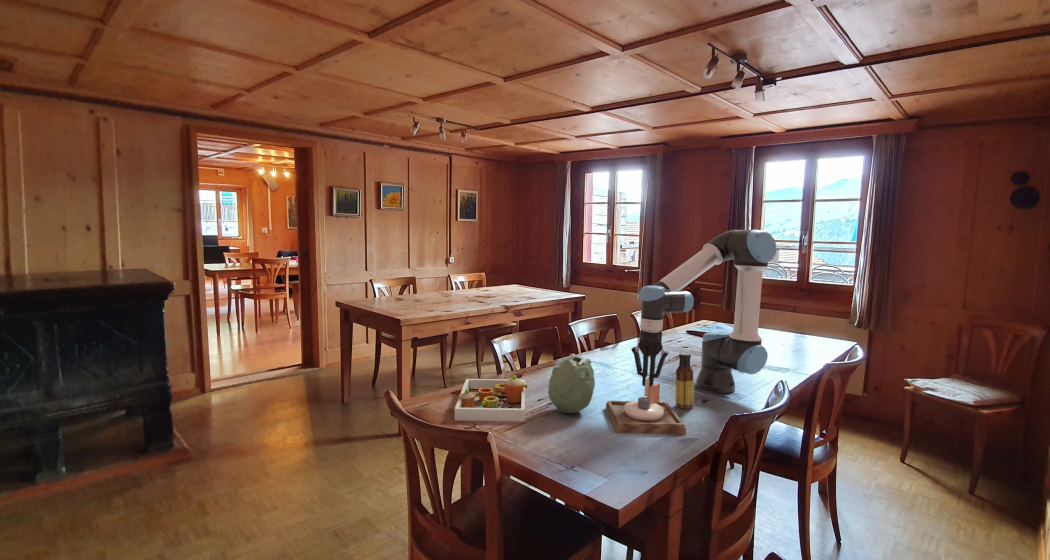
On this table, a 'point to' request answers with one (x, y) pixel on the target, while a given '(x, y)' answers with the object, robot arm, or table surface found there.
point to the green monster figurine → (572, 384)
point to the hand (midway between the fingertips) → (647, 395)
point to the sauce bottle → (684, 382)
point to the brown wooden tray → (630, 425)
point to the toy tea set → (508, 389)
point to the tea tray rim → (488, 413)
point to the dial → (646, 406)
